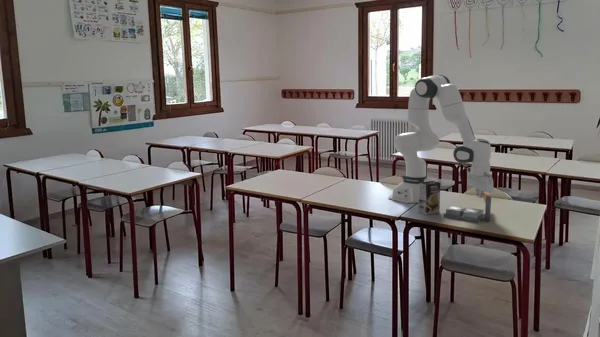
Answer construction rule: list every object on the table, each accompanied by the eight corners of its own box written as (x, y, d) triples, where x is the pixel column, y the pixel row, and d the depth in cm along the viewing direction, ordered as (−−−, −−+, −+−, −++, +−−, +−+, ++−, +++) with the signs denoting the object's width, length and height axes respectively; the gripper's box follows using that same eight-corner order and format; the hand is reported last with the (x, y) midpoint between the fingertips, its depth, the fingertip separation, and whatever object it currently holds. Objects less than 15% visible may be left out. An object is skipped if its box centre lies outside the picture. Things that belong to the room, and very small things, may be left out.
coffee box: (426, 215, 260) (427, 184, 257) (418, 212, 266) (418, 182, 263) (440, 212, 264) (441, 182, 261) (431, 209, 270) (432, 180, 267)
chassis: (443, 216, 257) (443, 208, 257) (451, 211, 265) (451, 204, 264) (478, 222, 246) (479, 214, 246) (485, 217, 254) (486, 209, 253)
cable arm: (491, 221, 247) (492, 197, 245) (484, 220, 248) (485, 197, 246) (486, 207, 270) (487, 186, 267) (480, 207, 270) (481, 186, 268)
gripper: (497, 174, 249) (496, 201, 251) (476, 166, 268) (475, 192, 271) (485, 175, 248) (484, 202, 250) (465, 167, 267) (464, 192, 270)
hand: (479, 197), depth 261 cm, fingers closed
